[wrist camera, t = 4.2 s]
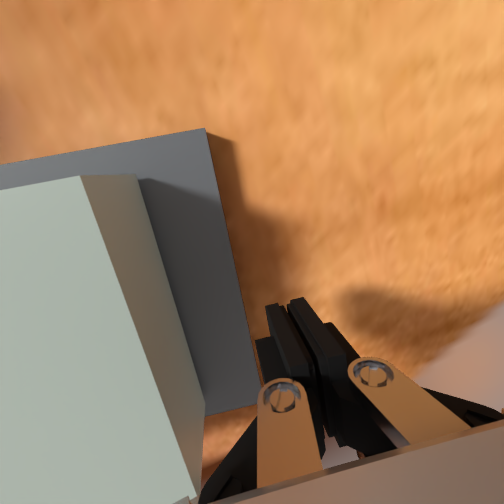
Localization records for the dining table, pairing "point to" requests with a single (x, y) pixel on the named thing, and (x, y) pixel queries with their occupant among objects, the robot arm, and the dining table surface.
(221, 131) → the dining table surface
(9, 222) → the cover
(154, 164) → the board
